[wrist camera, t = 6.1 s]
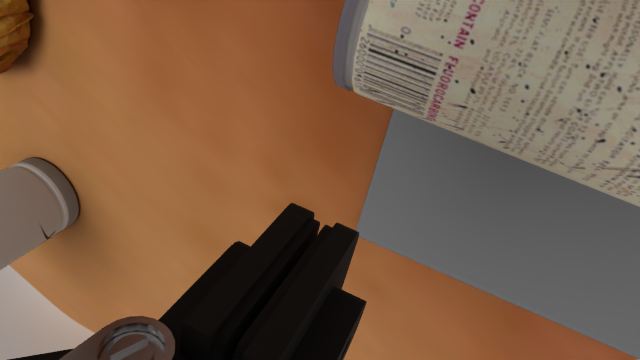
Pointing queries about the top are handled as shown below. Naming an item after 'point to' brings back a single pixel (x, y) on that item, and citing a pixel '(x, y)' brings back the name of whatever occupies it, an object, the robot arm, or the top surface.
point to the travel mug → (32, 207)
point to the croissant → (13, 31)
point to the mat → (508, 229)
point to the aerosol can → (509, 77)
